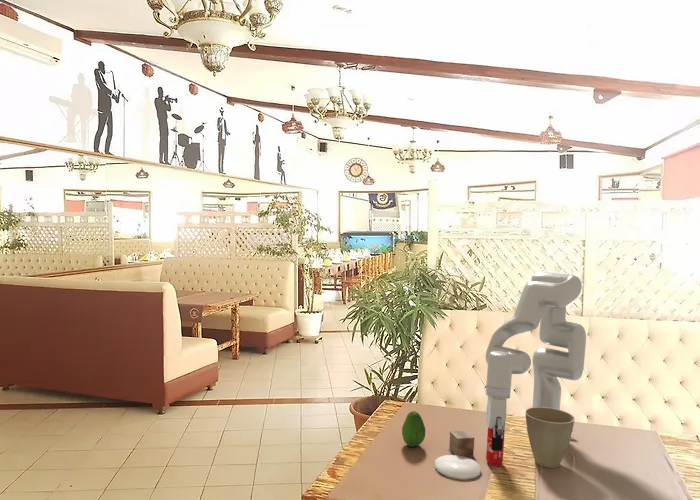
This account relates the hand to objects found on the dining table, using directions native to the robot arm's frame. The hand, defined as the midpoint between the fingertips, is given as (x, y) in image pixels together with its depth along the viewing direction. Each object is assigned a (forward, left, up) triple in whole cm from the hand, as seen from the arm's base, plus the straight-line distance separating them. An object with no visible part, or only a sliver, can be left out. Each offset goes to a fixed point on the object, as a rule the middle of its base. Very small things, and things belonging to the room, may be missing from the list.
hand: (494, 444), depth 170 cm
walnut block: (+10, -6, -6) cm, 13 cm away
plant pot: (-17, -4, -7) cm, 19 cm away
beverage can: (0, 0, -7) cm, 7 cm away
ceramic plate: (+12, +7, -6) cm, 15 cm away
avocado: (+26, -7, -7) cm, 28 cm away
